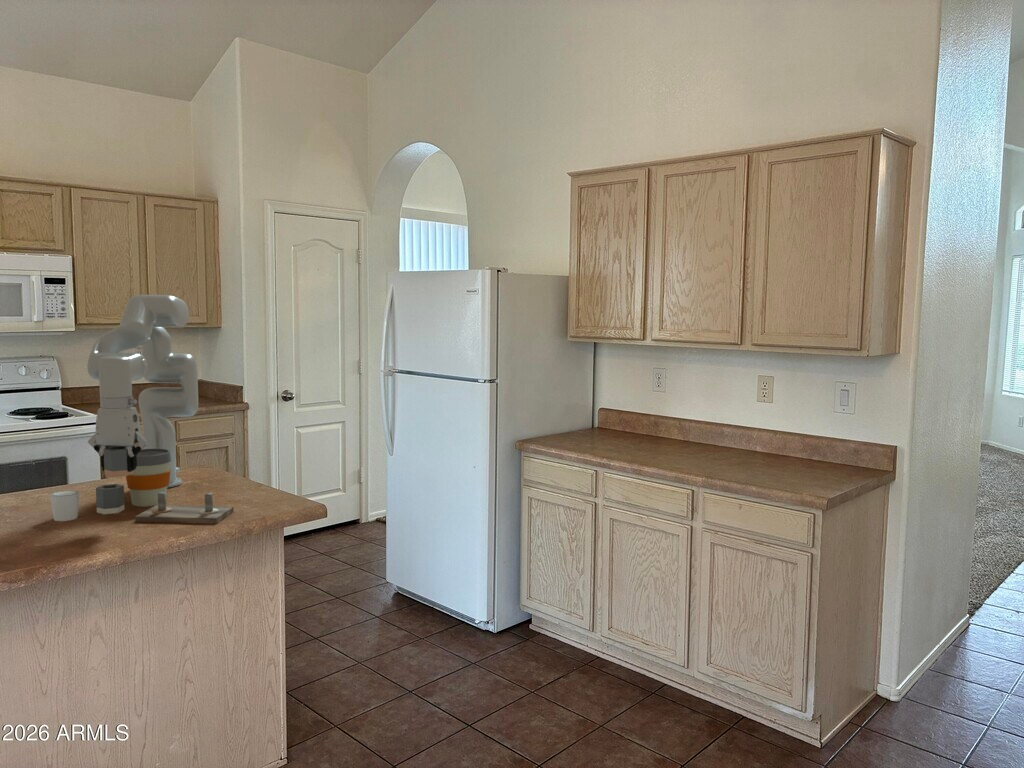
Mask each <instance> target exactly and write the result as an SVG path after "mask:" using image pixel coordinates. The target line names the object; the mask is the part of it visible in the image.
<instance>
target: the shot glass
mask: <svg viewBox="0 0 1024 768" xmlns="http://www.w3.org/2000/svg"><path fill="white" fill-rule="evenodd" d="M49 496H50V503H51V508H52V509H51V510H52V516H53V521H54V522H55V521H56V522H66V521H68V522H69V521H73V520H76V519H78V517H79V503H80V502H79V499H80V491H78V490H61V491H55V492H52V493H50V494H49Z"/></svg>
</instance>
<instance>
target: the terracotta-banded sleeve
mask: <svg viewBox="0 0 1024 768" xmlns="http://www.w3.org/2000/svg"><path fill="white" fill-rule="evenodd" d="M103 450H104V471H103V472H104V473H103V474H104V476H107V477H111V478H118V477H126V476H128V475H130V474H132V473H134V470H133V471H131V472H128V466H127V457H129V454H128V452H127V449H126V447H123V446H110V447H107V448H105V449H103Z"/></svg>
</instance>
